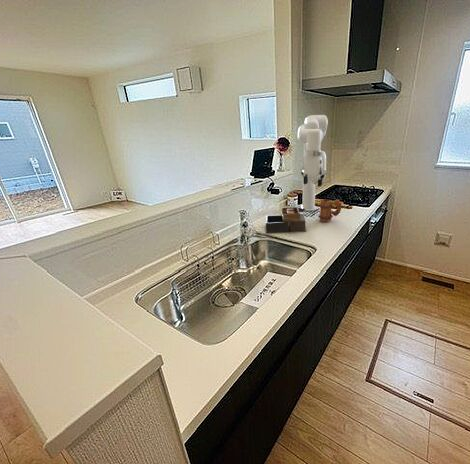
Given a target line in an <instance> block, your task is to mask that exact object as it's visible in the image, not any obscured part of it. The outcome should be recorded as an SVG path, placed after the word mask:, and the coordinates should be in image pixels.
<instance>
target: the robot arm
mask: <svg viewBox="0 0 470 464" xmlns="http://www.w3.org/2000/svg"><path fill="white" fill-rule="evenodd" d="M328 124H329V120H328V116H327V115H325V114H311V115H308V116H306V118H305V119H304V123H303V124H301V125H299V127H298V129H297V140H298V142H299V144H303V164H304V166H303V167H301V168H300V169H299V171H300V174H301V181H302V203H301V206H302V205H303V206H304V208H305V211H304V212H314V211H316V210H317V209H318V206H316V184H315V183H314V182H313V181H317V187H322V185H323V181H324V180H325V179H326V176H327V173H328V172H327V153H326V152H325V151H324V150H322V149H321V148H322V141H323V140H324V137H325V136H326V134H327V129H328Z"/></svg>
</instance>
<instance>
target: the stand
mask: <svg viewBox="0 0 470 464" xmlns="http://www.w3.org/2000/svg"><path fill="white" fill-rule="evenodd" d="M306 221H307V220H306V218H305V216H304V214H303V213H300V221H291V222H289V232H290V233H296V232H297V233H298V232H299V233H300V232H303V233H304V232H306Z"/></svg>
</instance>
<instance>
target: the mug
mask: <svg viewBox="0 0 470 464" xmlns="http://www.w3.org/2000/svg"><path fill="white" fill-rule="evenodd" d="M334 206H335V207H336V209H335V210H332V208H333V207H334ZM342 206H343V205H342V203H341V201H340V200H339V199H337V198H336V199H335V200H331V199H321V200H320V204H319V205H318V207H319V208H320V210H319V214H318V215H317V216H318V218H319V221H321V222H322V223H328V222H331V221H332V220H333V219H332V218H333V217H337V216H338V215H339V214H340V213H341V211H342Z"/></svg>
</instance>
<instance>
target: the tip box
mask: <svg viewBox="0 0 470 464" xmlns="http://www.w3.org/2000/svg"><path fill="white" fill-rule="evenodd" d="M287 208H293V209H294V213H295V214H287ZM304 212H306V211H305V208H304V206H303V205H302V204H301V205H300V206H299V207H298V206H295V207H294V206H292V207H281V215H282V217H283V222H291V221H300V214H301V213H304Z"/></svg>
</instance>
